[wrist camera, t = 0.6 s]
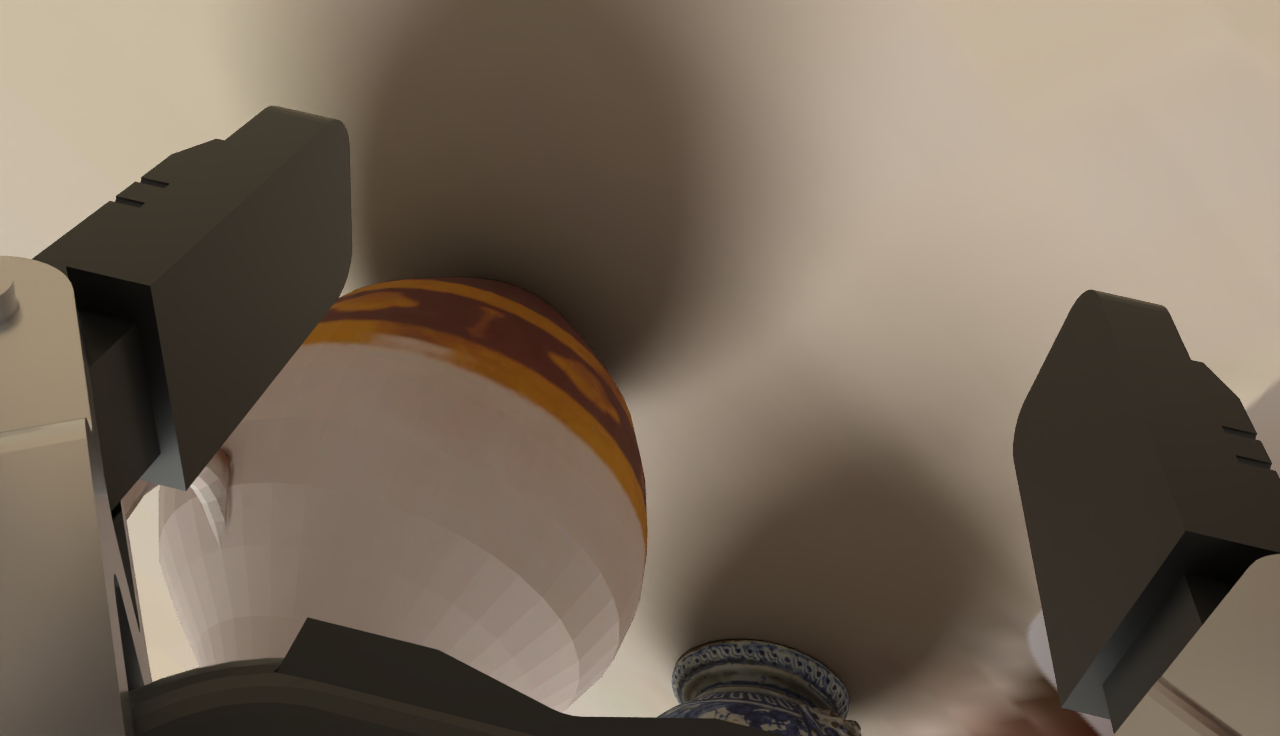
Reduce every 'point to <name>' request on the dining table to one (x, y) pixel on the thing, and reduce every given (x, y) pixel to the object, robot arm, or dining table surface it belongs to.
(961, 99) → the dining table surface
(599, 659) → the jug
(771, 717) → the decorative vase
